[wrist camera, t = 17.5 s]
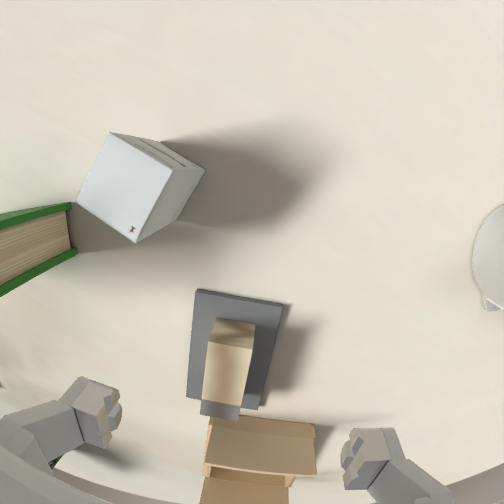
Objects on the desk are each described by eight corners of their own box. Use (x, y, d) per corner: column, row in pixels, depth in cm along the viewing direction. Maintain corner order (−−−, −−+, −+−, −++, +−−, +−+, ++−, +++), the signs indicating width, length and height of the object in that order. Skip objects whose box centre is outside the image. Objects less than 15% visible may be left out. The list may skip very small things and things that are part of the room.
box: (255, 324, 40) (252, 349, 34) (241, 393, 43) (237, 421, 37) (216, 317, 40) (208, 341, 34) (207, 387, 43) (199, 414, 37)
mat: (282, 304, 40) (282, 307, 39) (257, 405, 45) (257, 410, 44) (197, 288, 40) (195, 291, 39) (187, 392, 45) (186, 397, 44)
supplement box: (208, 169, 36) (177, 171, 24) (176, 221, 38) (135, 247, 26) (158, 139, 35) (108, 129, 23) (129, 190, 37) (73, 203, 25)
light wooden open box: (314, 423, 45) (321, 475, 35) (290, 475, 50) (291, 520, 39) (211, 410, 45) (199, 461, 35) (204, 464, 50) (194, 508, 39)
